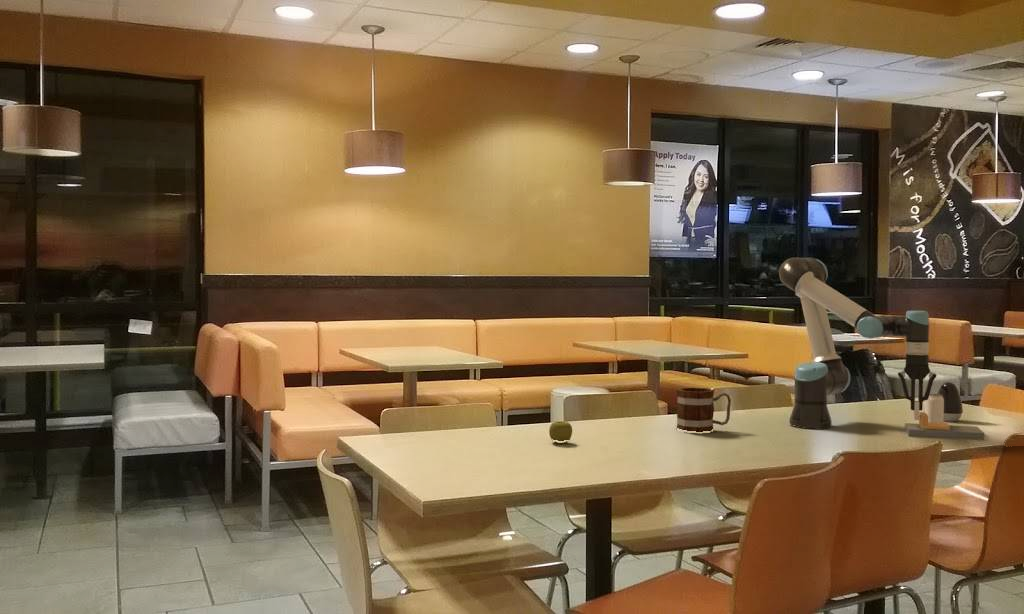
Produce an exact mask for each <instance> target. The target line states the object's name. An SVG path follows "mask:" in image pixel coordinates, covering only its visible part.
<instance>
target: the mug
mask: <svg viewBox="0 0 1024 614" xmlns="http://www.w3.org/2000/svg"><path fill="white" fill-rule="evenodd" d="M676 392H677V393H676V395H677V405H676V419H677V421H676V429H677V428H679V429H682V430H687V431H696V432H703V431H711V430H712V429H713V430H714V424H716V425H720V426H724V425H727V424H728V422H729V420H730V417H731V415H730V414H731V403H732V402H731V401H732V400H731V398H730V395H729V394H728V393H726V392H722V393H719V394H718V395H717V396H716V397H714V394H715V389H710V388H707V387H706V388H705V387H680V388H678V389H676ZM723 396H725V397H726V399H727V404H726V418H725V420H724V421H719V420H714V413H715V409H714V407H715V406H714V402H717V401H718V400H719V399H721V397H723Z"/></svg>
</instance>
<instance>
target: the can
mask: <svg viewBox="0 0 1024 614" xmlns="http://www.w3.org/2000/svg"><path fill="white" fill-rule="evenodd" d="M942 396H943V395H939V394H937V393H930V394H929V398H928V400H925V401H924V412H925V413H926V414H927V415H928V422H933V423H944V421H943V420H944V399H943V397H942Z"/></svg>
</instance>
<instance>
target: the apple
mask: <svg viewBox="0 0 1024 614" xmlns="http://www.w3.org/2000/svg"><path fill="white" fill-rule="evenodd" d="M572 427H573V426H572V425H571V423H569V422H567V421H554V422H552V423H551V424H550V426H549V430H548V433H549V437H550V440H552V439H553V440H558V441H564V440H569V441H570V440H571V437H572V435H573V428H572Z"/></svg>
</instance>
